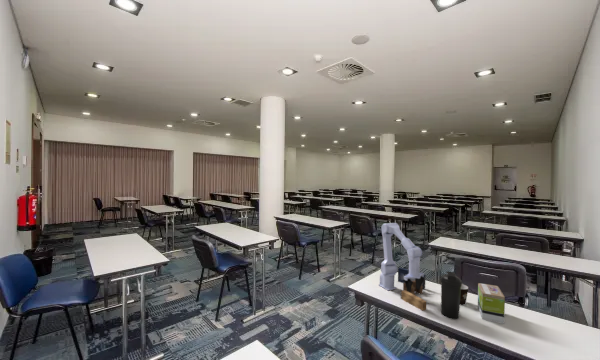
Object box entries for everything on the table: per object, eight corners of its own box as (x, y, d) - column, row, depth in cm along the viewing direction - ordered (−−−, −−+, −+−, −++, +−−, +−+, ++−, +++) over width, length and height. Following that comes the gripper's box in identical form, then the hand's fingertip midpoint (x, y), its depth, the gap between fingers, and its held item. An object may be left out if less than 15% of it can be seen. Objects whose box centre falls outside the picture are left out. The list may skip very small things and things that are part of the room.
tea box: (476, 306, 154) (477, 282, 153) (497, 311, 149) (498, 285, 149) (481, 319, 140) (482, 292, 140) (504, 324, 136) (505, 296, 135)
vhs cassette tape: (397, 281, 188) (398, 267, 188) (399, 280, 190) (399, 266, 190) (423, 290, 175) (424, 275, 174) (425, 288, 177) (425, 274, 176)
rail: (400, 298, 162) (400, 290, 162) (404, 297, 163) (404, 289, 163) (422, 311, 148) (422, 302, 147) (426, 310, 149) (426, 301, 149)
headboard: (403, 293, 169) (403, 283, 168) (419, 289, 175) (419, 279, 175) (409, 297, 164) (409, 286, 164) (425, 292, 171) (426, 282, 170)
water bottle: (459, 312, 146) (460, 272, 146) (461, 322, 137) (463, 279, 137) (438, 308, 151) (440, 269, 150) (440, 317, 141) (441, 275, 141)
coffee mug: (463, 299, 163) (463, 283, 162) (470, 306, 154) (471, 289, 154) (443, 298, 164) (444, 282, 163) (450, 305, 155) (450, 288, 155)
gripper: (410, 271, 148) (410, 295, 148) (428, 268, 154) (427, 290, 155) (401, 267, 154) (400, 290, 155) (418, 264, 161) (417, 286, 161)
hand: (413, 290), depth 155 cm, fingers open, 7 cm apart
